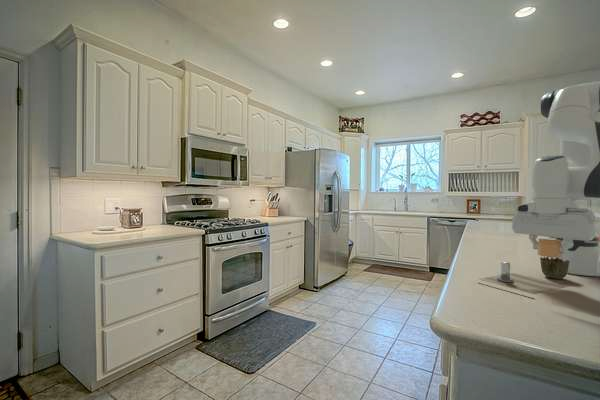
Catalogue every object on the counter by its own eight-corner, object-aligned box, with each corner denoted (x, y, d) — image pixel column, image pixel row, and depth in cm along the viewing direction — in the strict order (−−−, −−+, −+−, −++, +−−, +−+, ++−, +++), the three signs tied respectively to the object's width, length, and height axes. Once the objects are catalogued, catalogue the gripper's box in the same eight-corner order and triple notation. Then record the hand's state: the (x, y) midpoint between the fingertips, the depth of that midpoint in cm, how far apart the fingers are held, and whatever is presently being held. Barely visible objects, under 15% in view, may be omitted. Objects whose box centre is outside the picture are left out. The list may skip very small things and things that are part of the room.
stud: (502, 278, 95) (502, 260, 95) (516, 282, 91) (517, 263, 91) (493, 279, 93) (494, 261, 93) (508, 283, 89) (508, 264, 89)
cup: (575, 285, 93) (575, 261, 93) (552, 285, 93) (552, 261, 93) (555, 279, 101) (555, 256, 101) (534, 279, 101) (534, 256, 101)
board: (514, 277, 103) (514, 273, 103) (571, 290, 88) (571, 285, 88) (477, 283, 94) (477, 278, 94) (533, 299, 80) (534, 293, 80)
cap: (544, 253, 94) (544, 238, 94) (564, 256, 89) (565, 240, 89) (534, 254, 92) (535, 239, 92) (555, 258, 87) (555, 241, 87)
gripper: (599, 208, 82) (599, 256, 82) (520, 205, 101) (520, 245, 101) (589, 209, 79) (588, 258, 80) (509, 206, 98) (509, 246, 98)
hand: (549, 251), depth 90 cm, fingers closed on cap, 5 cm apart
